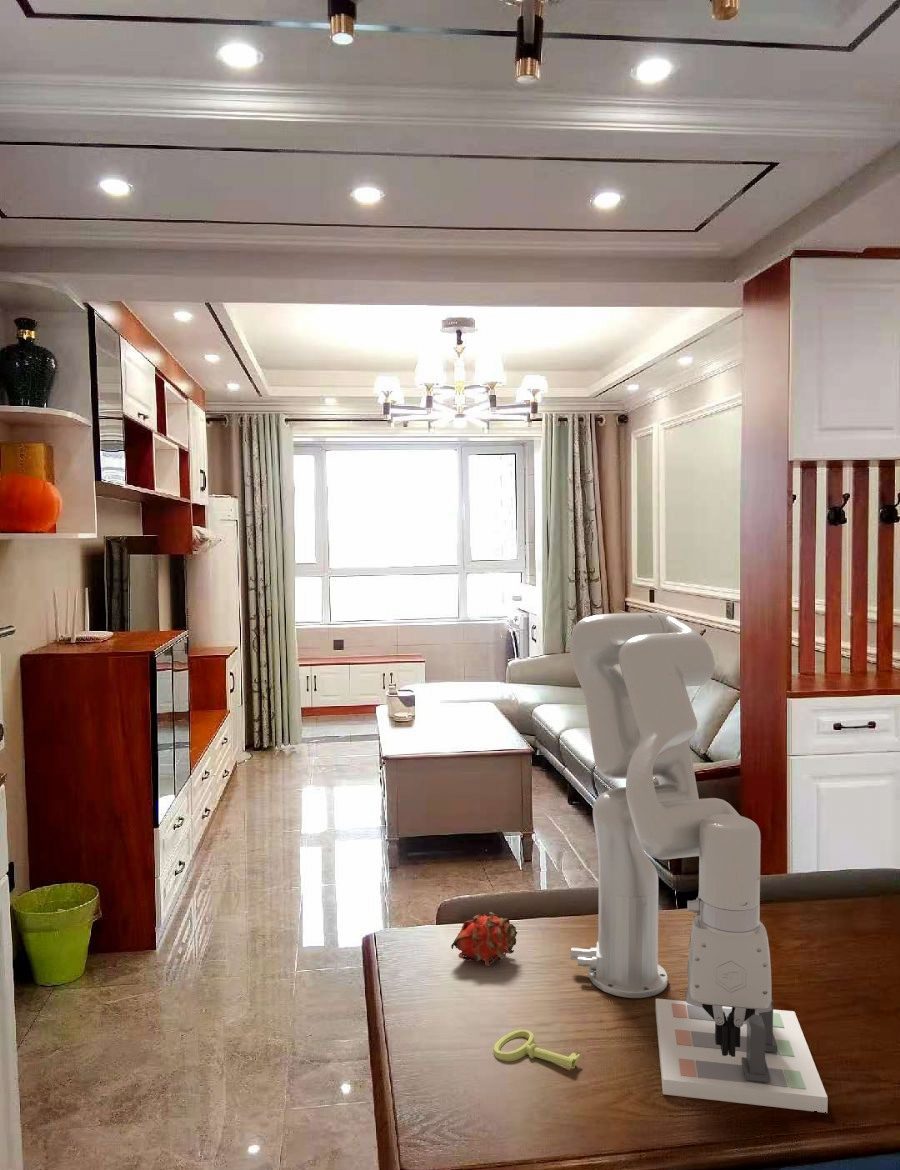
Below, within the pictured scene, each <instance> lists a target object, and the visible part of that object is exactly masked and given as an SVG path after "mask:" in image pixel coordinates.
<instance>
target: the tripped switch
mask: <svg viewBox="0 0 900 1170" xmlns="http://www.w3.org/2000/svg"><path fill="white" fill-rule="evenodd" d="M765 1039H766V1029H765V1026H764V1022H763V1019H762V1016H760V1015H752V1016H751V1017H749V1018H748V1019H747V1058H745V1057H742V1059H741V1063H742V1067H743V1071H744V1075H745V1079H746V1080H753V1081H762V1082H770V1074H769V1070H768V1067H767V1064H766V1060H765Z"/></svg>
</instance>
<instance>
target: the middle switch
mask: <svg viewBox="0 0 900 1170" xmlns="http://www.w3.org/2000/svg"><path fill="white" fill-rule="evenodd" d="M771 1006H772V1010H771V1011H769V1012H762V1013H755V1015H760V1016H762V1019H763V1022H764V1026H765V1029H766V1039H765V1051H771V1052H777V1043H776V1040H775V1037H774V1034H773V1010H774V1000H773V998H772V996H771Z"/></svg>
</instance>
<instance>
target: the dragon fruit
mask: <svg viewBox="0 0 900 1170" xmlns="http://www.w3.org/2000/svg"><path fill="white" fill-rule="evenodd" d="M488 915H489V916H487V915H486V914H485V913H484V914H482V915H481V914H477V915H474V916H473V917H472V919H469V920H466V921H464V922H463V925H462V927H461V929H460V931H459V933H458V934H457V936H456V938H455V939H454V940H453V942H452V943H451V945H450V948H451V950H453V949H454V948H455V949H458V950H459V951H461V952H459V953H458V958H459V959H461V960H463V961H465V962H480V961H481V960H483V961H484V963H485V966H486V967H490V965H491V964H493V963H495V962H499V961H500V960H502V958H506V956H507V954H510V955H511V954H513V953H514V952H515V950H514V949H513V948H514V946H515V945H517V938H516V937H517V934H518V933H519V932H518V931H517V927H516V926H515V925H514V924H512V923H511V922H510V920H509V918H503V917H502V916H501V917H500V918H499V917H498V915H497V914H495V913H493V912H492V911H491V912H488Z"/></svg>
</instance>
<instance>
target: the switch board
mask: <svg viewBox="0 0 900 1170" xmlns="http://www.w3.org/2000/svg"><path fill="white" fill-rule="evenodd" d="M722 1009H723V1012H724V1013H725V1016H726V1019H727V1016H729V1013H730V1012H731V1009H732V1007H726V1006H722ZM655 1022H656V1030H657V1031H656V1032H657V1041H658V1042H657V1043H658V1053H659V1067H660V1073H661V1075H660V1077H661V1086H662V1087H661V1088H662V1089H661V1090H662V1095H667V1096H675V1097H676V1096H677V1097H684V1098H692V1099H693V1098H694V1099H702V1100H709V1101H710V1100H711V1101H720V1102H727V1103H735V1104H736V1103H737V1104H744V1105H745V1104H747V1105H753V1106H764V1107H772V1108H773V1107H774V1108H781V1109H789V1110H798V1111H806V1112H814V1111H817V1113H824V1114H828V1101H829V1099H828V1098H829V1097H828V1094H827V1092H826V1090H825V1087H824V1085H823V1081H822V1080H821V1077H820V1074H819V1071H818V1070H817V1067H816V1064H815V1062H814V1059H813V1056H812V1054H811V1051H810V1049H809V1048H810V1047H809V1045H808V1043H807V1041H806V1038H805V1036H804V1033H803V1030H802V1028H801V1025H800V1022H799V1020H798V1017H797V1015H796V1012H795V1010H794V1011H793V1010H784V1009H782V1010H781V1009H773V1034H774V1037H775V1040H776V1043H777V1052H771V1051H765V1060H766V1064H767V1067H768V1070H769V1074H770V1082H762V1081H753V1080H746V1079H745V1075H744V1071H743V1067H742V1063H741V1059H742V1057H745V1058H747V1022H746V1021H744V1024H743V1026H742V1027H740V1047H735V1057H731V1055H729V1052H728V1055H727V1056H722V1051H721V1046H720V1045H716V1042H715V1020H714V1019H713V1018H712V1017H711V1016H710V1015H709V1014H708V1013H707V1012H706V1011H705V1010H704V1009H703V1008H702V1007H697V1006H694V1005H691V1004H688V1003H687V1002H686V1000H677V999H676V1000H675V999H674V1000H673V999H668V998H667V999H664V998H655ZM825 1112H826V1113H825Z"/></svg>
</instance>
